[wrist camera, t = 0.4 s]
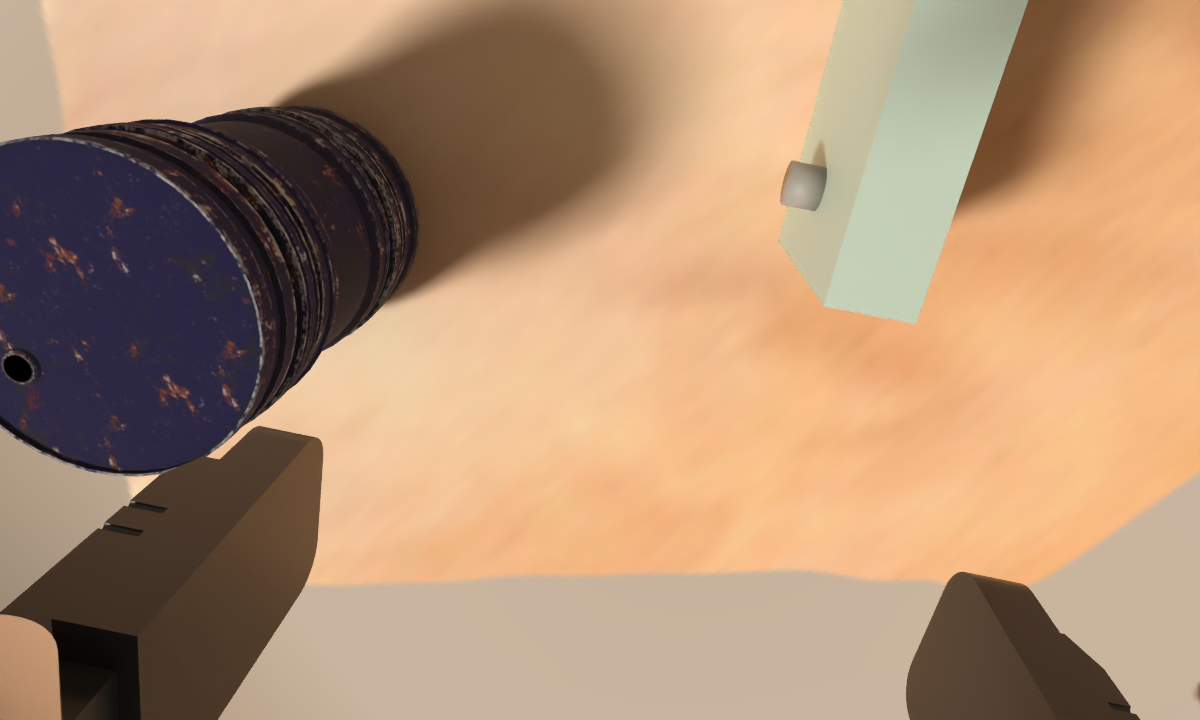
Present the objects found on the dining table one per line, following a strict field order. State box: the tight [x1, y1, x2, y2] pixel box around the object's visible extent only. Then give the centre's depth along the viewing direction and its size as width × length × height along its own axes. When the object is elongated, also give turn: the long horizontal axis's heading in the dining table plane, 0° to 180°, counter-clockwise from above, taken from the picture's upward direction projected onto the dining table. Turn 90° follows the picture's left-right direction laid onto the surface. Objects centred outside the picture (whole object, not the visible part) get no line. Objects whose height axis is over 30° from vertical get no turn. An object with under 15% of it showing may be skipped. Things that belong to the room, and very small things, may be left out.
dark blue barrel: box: [0, 107, 419, 476], centre depth 28 cm, size 10×10×15 cm
